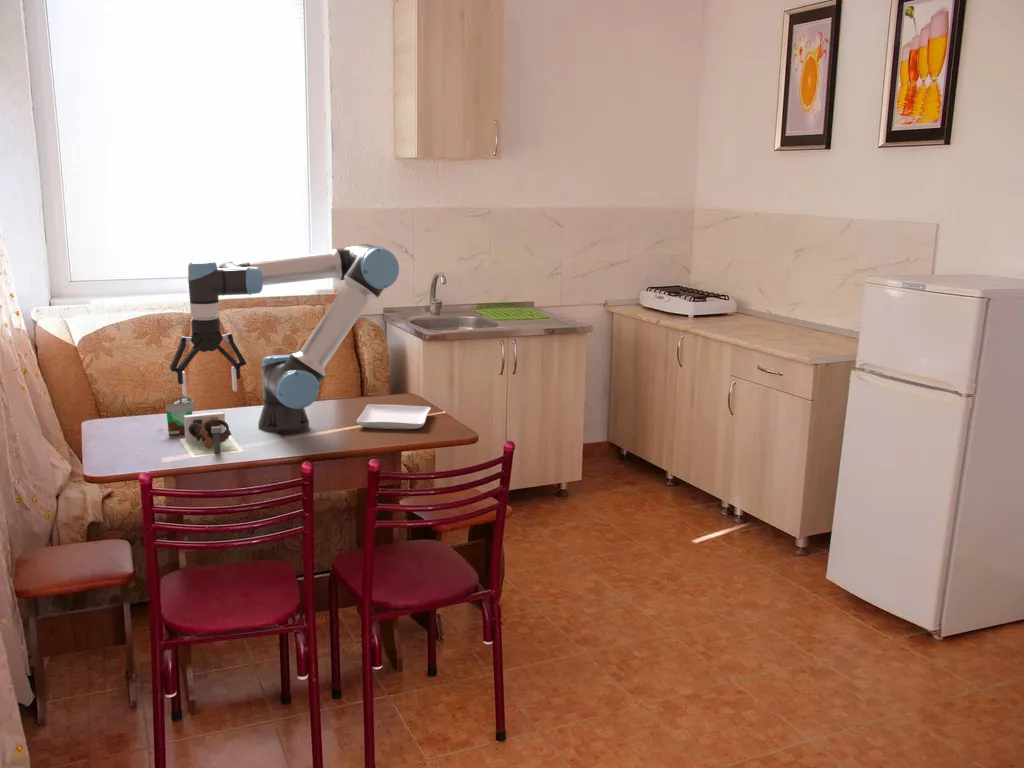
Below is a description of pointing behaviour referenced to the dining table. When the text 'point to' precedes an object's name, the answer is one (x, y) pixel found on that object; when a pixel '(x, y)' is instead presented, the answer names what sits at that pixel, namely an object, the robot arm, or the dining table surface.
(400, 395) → the dining table surface
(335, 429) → the dining table surface
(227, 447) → the stand
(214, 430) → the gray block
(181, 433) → the food container
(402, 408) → the salad plate
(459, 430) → the dining table surface
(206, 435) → the pottery mug
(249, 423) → the dining table surface
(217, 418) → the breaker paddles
